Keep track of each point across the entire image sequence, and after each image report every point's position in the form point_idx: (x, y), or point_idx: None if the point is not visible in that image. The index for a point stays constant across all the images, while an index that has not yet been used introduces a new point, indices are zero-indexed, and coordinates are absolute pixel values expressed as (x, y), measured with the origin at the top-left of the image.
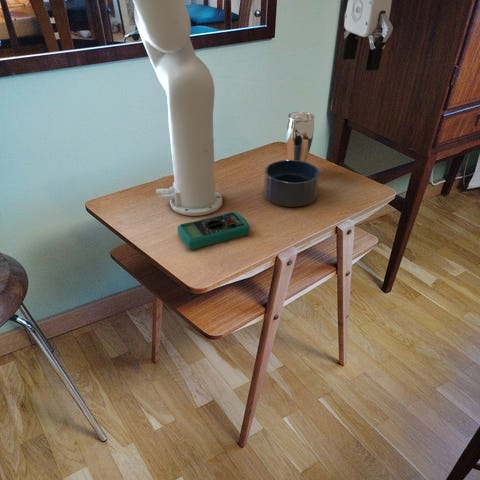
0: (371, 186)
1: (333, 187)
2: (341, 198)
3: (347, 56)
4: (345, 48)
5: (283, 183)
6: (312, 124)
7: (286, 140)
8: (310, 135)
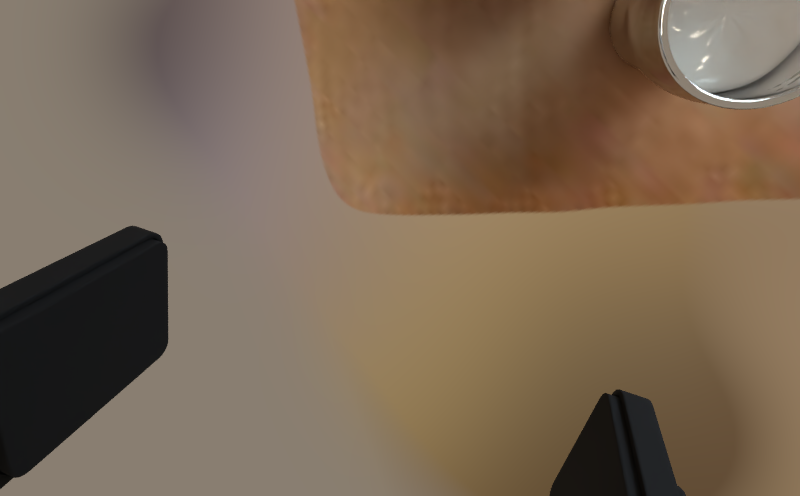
0: (402, 192)
1: (469, 75)
2: (390, 39)
3: (589, 438)
4: (630, 489)
5: None
6: (650, 49)
7: None
8: (632, 34)
